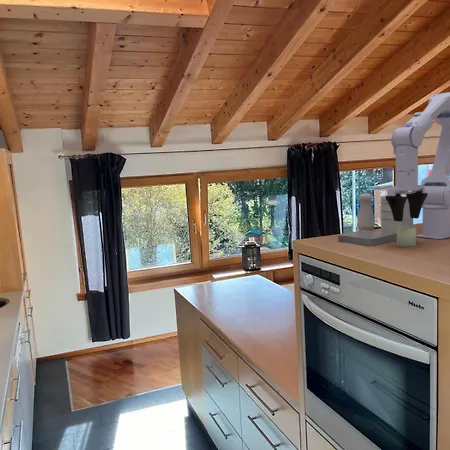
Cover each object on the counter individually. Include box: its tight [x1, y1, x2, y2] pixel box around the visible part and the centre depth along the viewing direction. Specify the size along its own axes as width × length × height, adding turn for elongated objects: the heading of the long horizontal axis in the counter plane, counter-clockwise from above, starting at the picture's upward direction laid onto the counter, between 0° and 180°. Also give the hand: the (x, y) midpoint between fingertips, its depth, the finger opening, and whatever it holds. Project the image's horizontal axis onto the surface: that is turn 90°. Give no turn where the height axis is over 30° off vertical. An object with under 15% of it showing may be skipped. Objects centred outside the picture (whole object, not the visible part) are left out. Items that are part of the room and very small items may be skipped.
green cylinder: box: [396, 226, 417, 248], centre depth 122 cm, size 5×5×5 cm
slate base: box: [337, 230, 397, 247], centre depth 131 cm, size 12×12×2 cm
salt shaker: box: [356, 193, 376, 231], centre depth 147 cm, size 6×6×13 cm
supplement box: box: [380, 194, 414, 234], centre depth 140 cm, size 7×7×13 cm
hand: (406, 219), depth 121 cm, fingers open, 7 cm apart
